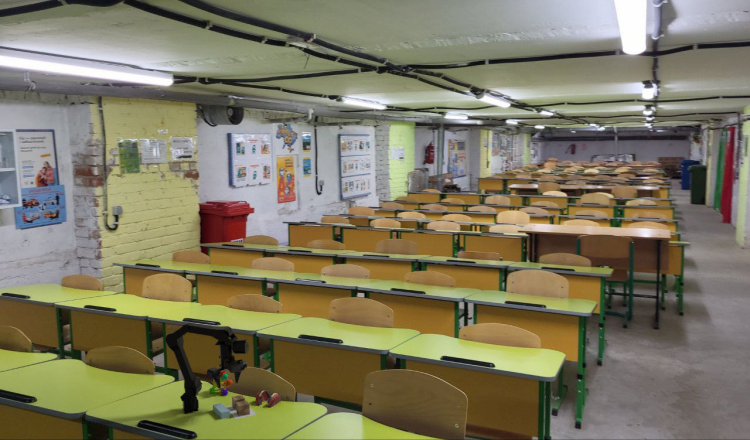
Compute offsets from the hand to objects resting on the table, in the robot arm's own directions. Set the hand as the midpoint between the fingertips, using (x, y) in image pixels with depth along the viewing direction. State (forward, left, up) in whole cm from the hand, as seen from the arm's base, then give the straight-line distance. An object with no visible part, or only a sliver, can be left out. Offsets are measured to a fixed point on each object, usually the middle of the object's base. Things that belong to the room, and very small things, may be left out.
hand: (228, 385), depth 280 cm
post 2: (+5, -7, -12) cm, 15 cm away
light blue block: (-4, -2, -13) cm, 13 cm away
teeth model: (+19, 0, -13) cm, 23 cm away
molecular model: (+2, +25, -13) cm, 28 cm away
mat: (+5, -3, -12) cm, 14 cm away
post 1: (+5, +1, -12) cm, 13 cm away
